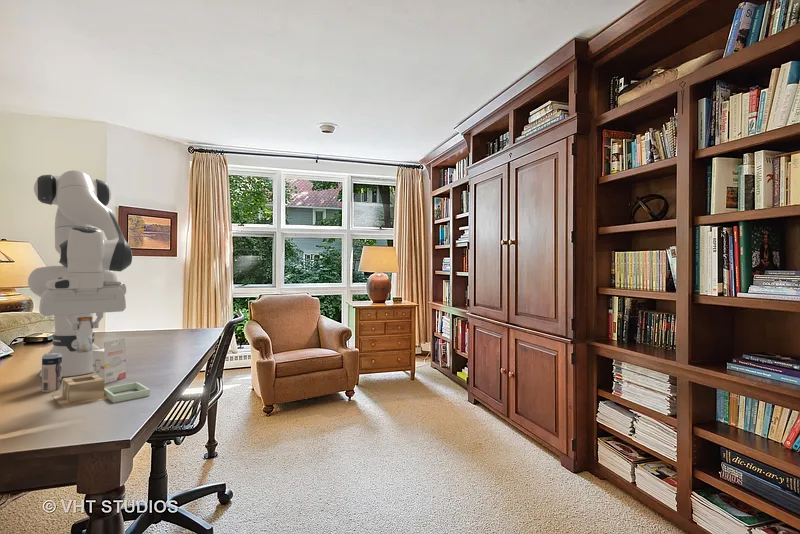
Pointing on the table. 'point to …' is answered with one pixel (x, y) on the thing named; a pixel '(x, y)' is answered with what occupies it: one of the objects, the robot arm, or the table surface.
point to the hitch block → (81, 390)
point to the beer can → (51, 372)
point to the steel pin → (84, 335)
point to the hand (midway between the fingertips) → (84, 328)
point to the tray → (126, 396)
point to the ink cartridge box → (110, 361)
